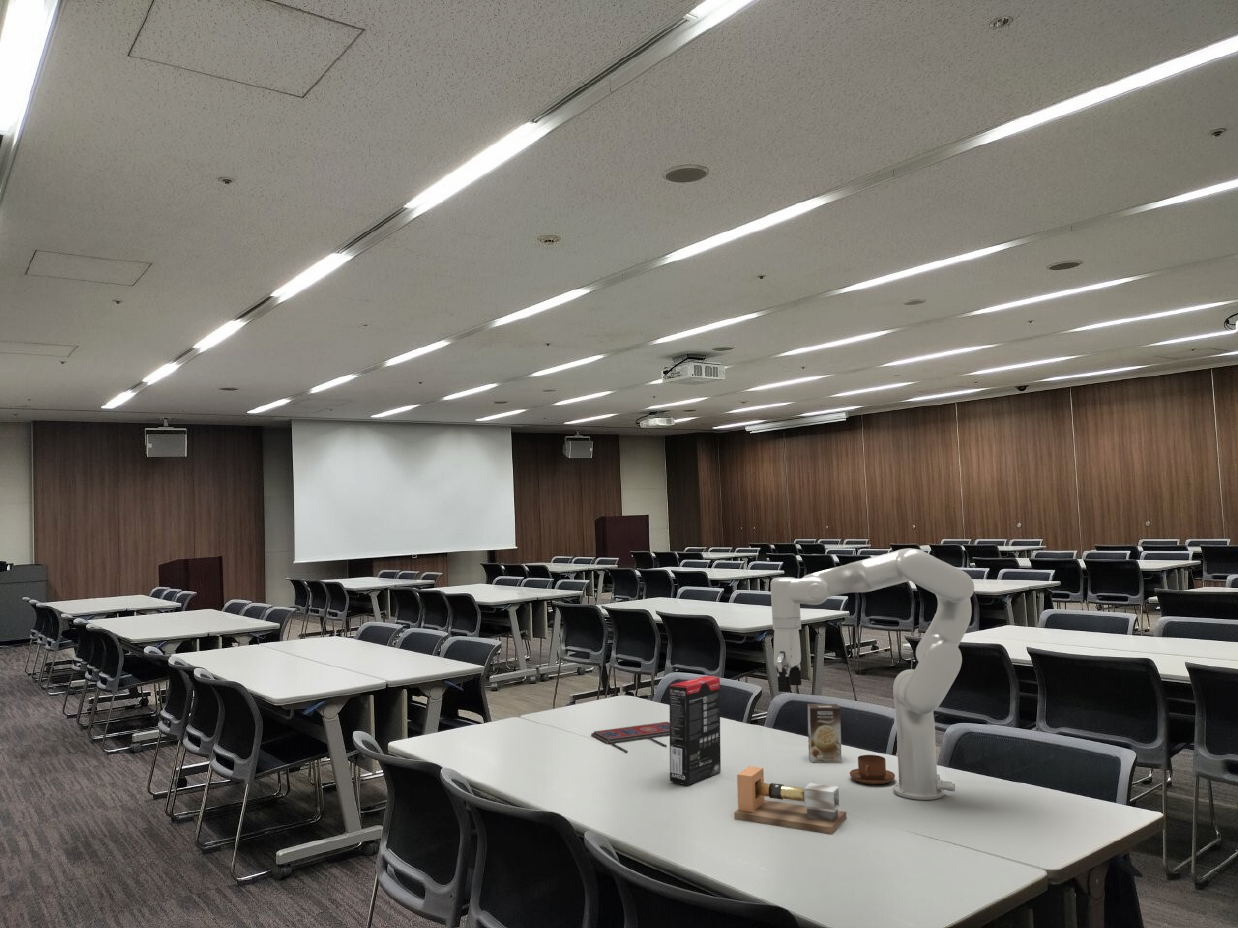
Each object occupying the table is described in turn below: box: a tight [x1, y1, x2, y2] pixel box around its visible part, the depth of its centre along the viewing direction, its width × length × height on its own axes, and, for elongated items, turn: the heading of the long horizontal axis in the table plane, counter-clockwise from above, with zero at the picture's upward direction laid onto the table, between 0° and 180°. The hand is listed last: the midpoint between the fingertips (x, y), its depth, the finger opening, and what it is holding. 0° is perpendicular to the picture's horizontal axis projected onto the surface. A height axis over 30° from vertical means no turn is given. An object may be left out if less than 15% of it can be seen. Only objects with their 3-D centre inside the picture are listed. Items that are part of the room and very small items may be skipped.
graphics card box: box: [668, 675, 722, 786], centre depth 246 cm, size 17×7×27 cm, turn 141°
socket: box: [736, 765, 765, 812], centre depth 215 cm, size 4×8×8 cm, turn 150°
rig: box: [733, 782, 847, 835], centre depth 210 cm, size 24×12×8 cm, turn 60°
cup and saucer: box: [849, 754, 896, 785], centre depth 239 cm, size 12×12×6 cm
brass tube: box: [755, 782, 805, 803], centre depth 211 cm, size 16×4×4 cm, turn 60°
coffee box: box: [807, 703, 843, 764], centre depth 261 cm, size 9×6×16 cm
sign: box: [590, 721, 670, 753], centre depth 291 cm, size 27×2×30 cm
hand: (790, 688), depth 232 cm, fingers open, 9 cm apart
